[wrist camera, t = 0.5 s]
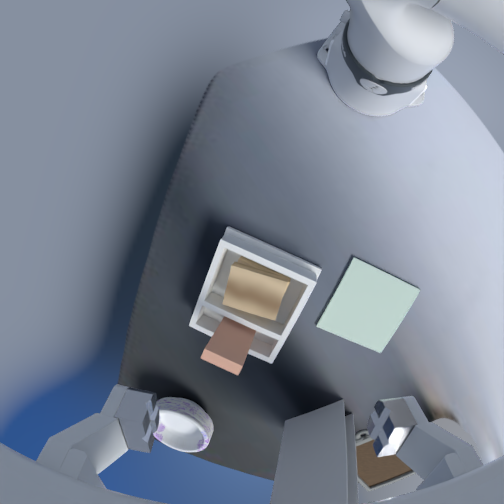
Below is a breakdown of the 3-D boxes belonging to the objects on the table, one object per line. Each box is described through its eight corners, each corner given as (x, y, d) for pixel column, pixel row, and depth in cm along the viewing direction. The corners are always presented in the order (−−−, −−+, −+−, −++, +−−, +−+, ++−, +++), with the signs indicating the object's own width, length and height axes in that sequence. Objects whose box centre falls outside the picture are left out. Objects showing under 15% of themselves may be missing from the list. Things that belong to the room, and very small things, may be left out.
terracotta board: (228, 310, 54) (204, 348, 42) (258, 324, 54) (242, 366, 41) (224, 319, 55) (200, 358, 42) (254, 332, 54) (238, 375, 42)
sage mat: (353, 256, 48) (353, 257, 48) (419, 289, 47) (420, 290, 47) (316, 325, 53) (316, 326, 52) (380, 351, 52) (380, 352, 51)
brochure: (296, 434, 61) (279, 544, 32) (284, 420, 60) (262, 535, 31) (353, 414, 56) (358, 532, 28) (343, 399, 56) (346, 523, 27)
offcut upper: (234, 261, 49) (231, 265, 47) (288, 277, 48) (287, 282, 46) (225, 299, 51) (222, 304, 49) (276, 315, 50) (275, 320, 48)
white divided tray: (228, 226, 51) (219, 231, 46) (321, 267, 50) (322, 277, 45) (194, 316, 57) (184, 328, 52) (275, 353, 56) (272, 368, 51)
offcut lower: (241, 255, 51) (238, 259, 49) (290, 278, 50) (290, 282, 48) (226, 290, 53) (223, 295, 51) (274, 312, 52) (272, 317, 50)
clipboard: (368, 491, 62) (324, 447, 59) (368, 487, 64) (324, 443, 61) (428, 467, 57) (398, 416, 54) (427, 463, 58) (397, 412, 55)
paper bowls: (224, 434, 65) (215, 456, 57) (170, 428, 68) (159, 448, 61) (208, 389, 61) (196, 413, 54) (150, 386, 65) (135, 406, 57)
